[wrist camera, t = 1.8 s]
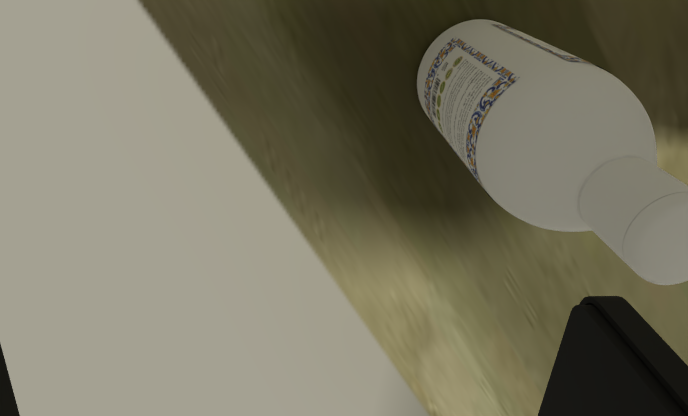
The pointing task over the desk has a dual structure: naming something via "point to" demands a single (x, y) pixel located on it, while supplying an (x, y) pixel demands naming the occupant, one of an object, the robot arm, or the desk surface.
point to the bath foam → (556, 143)
